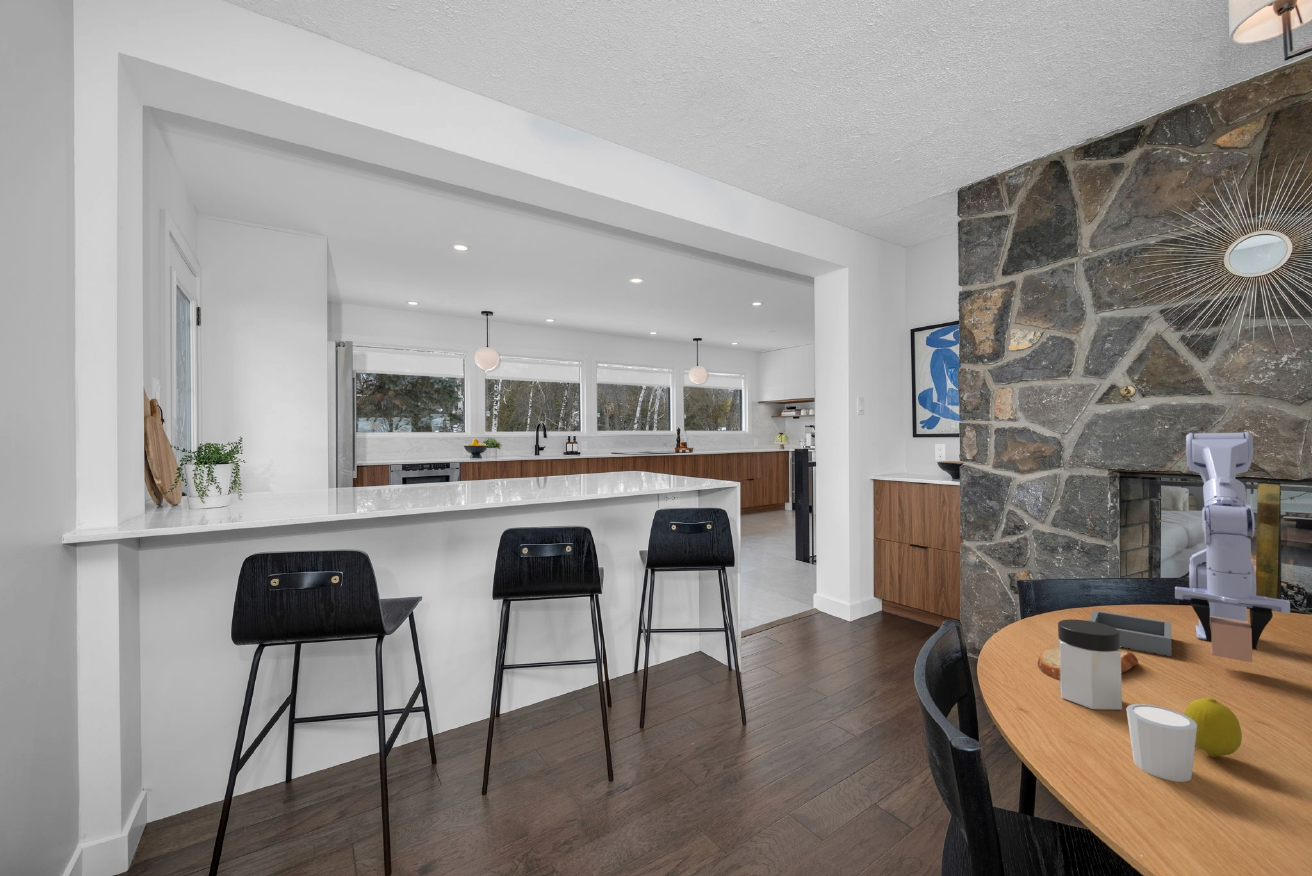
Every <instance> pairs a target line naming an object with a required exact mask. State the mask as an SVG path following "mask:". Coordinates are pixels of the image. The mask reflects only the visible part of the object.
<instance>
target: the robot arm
mask: <svg viewBox="0 0 1312 876" xmlns="http://www.w3.org/2000/svg"><path fill="white" fill-rule="evenodd" d="M1253 439H1254V438H1253V435H1252V434H1251V433H1250V432H1249V431H1244V432H1213V433H1212V432H1207V433H1206V432H1205V433H1204V432H1203V433H1202V432H1201V433H1200V432H1198V433H1193V432H1189V433H1188V434H1186V435H1185V451H1186V453H1185V454H1186V460H1187V463H1186V465H1187V467H1188V470H1189V471H1191V472H1194V473H1197V474H1199V476H1201V479H1202V482H1203V486H1202V487H1203V488H1202V492H1203V502H1204V503H1203V505H1204V507H1202V510H1201V515H1202V516H1201V521H1202V522H1201V524H1202V531H1203V535H1204V543H1205V545H1206V548H1204V549H1202V550H1200V551H1198V552H1195V553H1194V554H1192V555H1191V556H1190V557H1189V565H1188V568H1189V570H1188V571H1189V572H1188V575H1189V587H1182V586H1175V587H1174V598H1175V599H1177V600H1190V605H1191V607H1192V609H1193V611H1194V612H1195V614H1196V615H1197V618H1198V625H1195V634H1196V638H1197V639H1200V640H1205V641H1206V642H1207V643H1211V642H1212V637H1211V629H1210V616H1214V617H1220V618H1227V619H1234V620H1241V621H1248V608H1249V624H1250V626H1251V629H1252V650H1255V651H1256V650H1258V649H1257V648H1258V643H1259V641H1260V638H1261V635H1262V633H1263V631H1264V629H1265V628H1266V627H1267V625H1268V624H1269V623H1270V622H1271V620H1272V618H1273V615H1274V614H1273V611H1274V612H1280V613H1282V614H1288V615H1289V614H1291V603H1290V601H1289V600H1287V599H1279V598H1273V597H1266V596H1262V595H1257V577H1256V572H1255V564H1254V563H1253V561H1252V546H1251V545H1252V541H1251V540H1252V539H1253V537H1254V535H1255V530H1256V529H1255V528H1256V527H1255V526H1256V525H1255V524H1256V523H1255V521H1256V520H1255V514H1254V510H1253V509H1252V506H1251V504H1250V502H1249V503H1248V498H1247V492H1246V486H1245V484H1244V483H1243V482H1242V481H1240V480H1239V479H1236V476H1237V475H1239V474H1242V473H1243V474H1244V473H1246V472H1248V471H1249V468H1250V467H1251V465H1252V460H1253V457H1254V441H1253ZM1248 533H1249V535H1250V538H1249V536H1248ZM1205 563H1206V564H1205Z"/></svg>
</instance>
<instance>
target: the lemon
mask: <svg viewBox="0 0 1312 876" xmlns="http://www.w3.org/2000/svg"><path fill="white" fill-rule="evenodd" d="M1184 715H1186V716H1187V717H1189V718H1191V719H1192V720H1194V722H1195V723H1196V724H1197V732H1196V741H1195V747H1196V746H1197V748H1199V749H1200V750H1202V751H1204V752H1206V754H1207V755H1209V756H1210V757H1212V758H1218V757H1220V756H1229V755H1231V754H1233V753H1236V752H1237V750H1239V748H1240V747H1241V744H1242V740H1243V739H1242V738H1243V736H1242V735H1243V734H1242V728H1241V724H1240V721H1239V720H1238V718H1237V716H1236V715H1235V713H1234V712H1233V711H1232V710H1231V708H1229V707H1228V706H1227V705H1226V704H1223V703H1221V702H1220V701H1217V699H1215V698H1214V697H1206V698H1199V699H1195V700H1193V701H1190V703H1188V705H1187V706H1186V709H1185V711H1184Z"/></svg>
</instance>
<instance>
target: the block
mask: <svg viewBox="0 0 1312 876" xmlns="http://www.w3.org/2000/svg"><path fill="white" fill-rule="evenodd" d="M1210 629H1211V637H1212V642H1210V650H1211V656H1215V657H1219V658H1224V659H1225V658H1226V659H1231V660H1232V659H1233V660H1236V661H1242V662H1247V663H1253V649H1252V629H1251V626H1250V621H1248V620H1247V621H1241V620H1234V619H1227V618H1220V617H1214V616H1210Z"/></svg>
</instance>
